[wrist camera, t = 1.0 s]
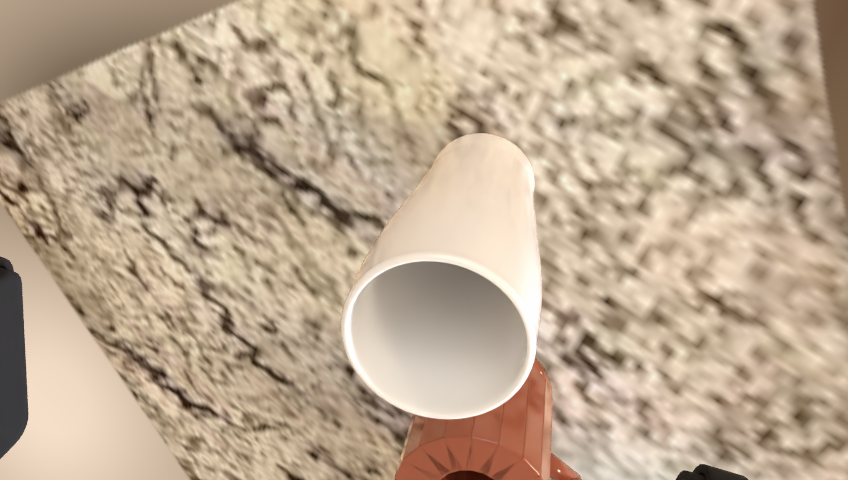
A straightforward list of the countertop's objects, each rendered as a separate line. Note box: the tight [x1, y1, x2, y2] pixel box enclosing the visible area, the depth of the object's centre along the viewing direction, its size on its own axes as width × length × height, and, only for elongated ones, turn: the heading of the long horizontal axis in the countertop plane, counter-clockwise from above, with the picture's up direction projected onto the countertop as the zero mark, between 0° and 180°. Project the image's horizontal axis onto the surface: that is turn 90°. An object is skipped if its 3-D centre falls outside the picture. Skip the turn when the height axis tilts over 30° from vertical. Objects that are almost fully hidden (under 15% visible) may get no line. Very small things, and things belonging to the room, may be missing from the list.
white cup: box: [341, 133, 542, 419], centre depth 31 cm, size 7×7×15 cm
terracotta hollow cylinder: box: [395, 358, 582, 480], centre depth 40 cm, size 11×8×8 cm
